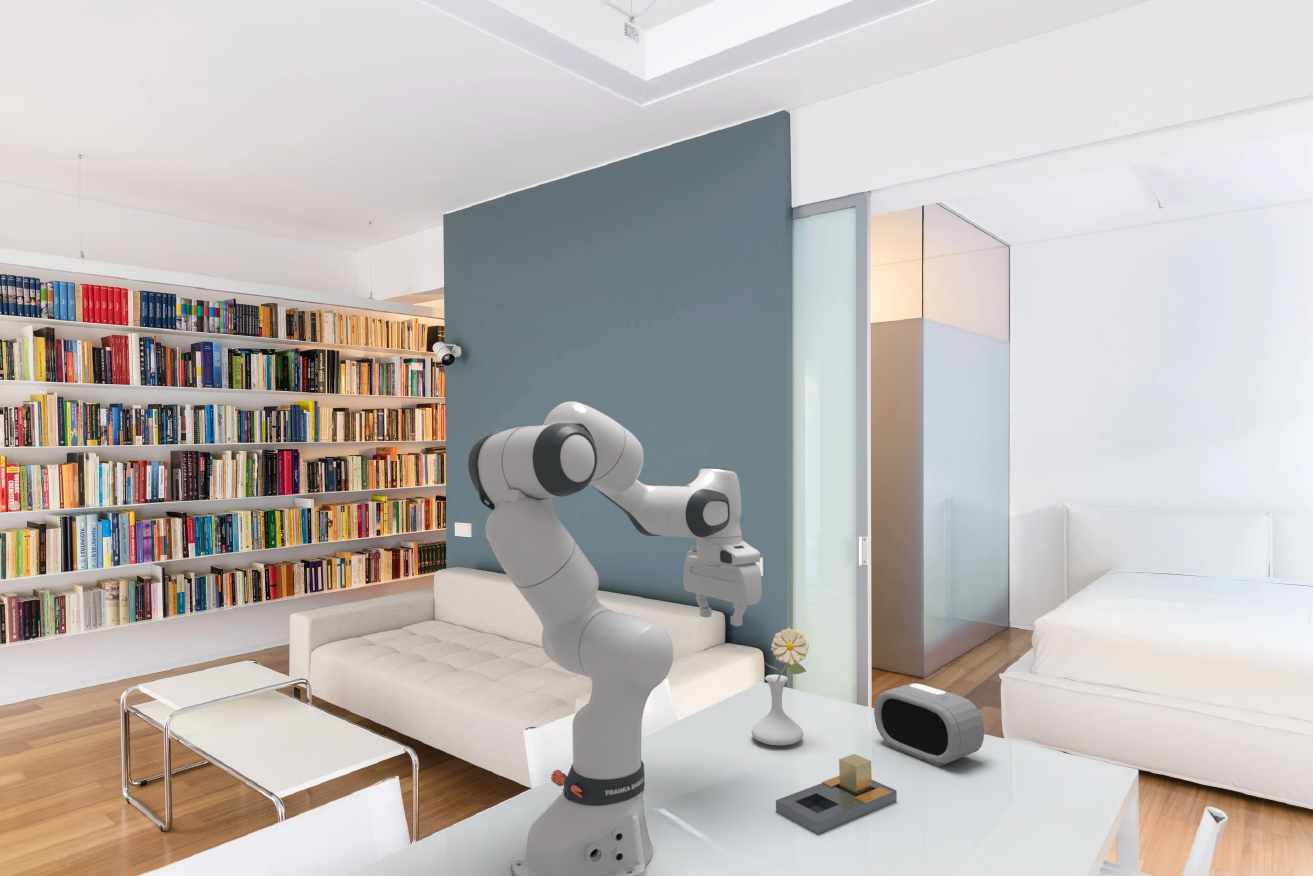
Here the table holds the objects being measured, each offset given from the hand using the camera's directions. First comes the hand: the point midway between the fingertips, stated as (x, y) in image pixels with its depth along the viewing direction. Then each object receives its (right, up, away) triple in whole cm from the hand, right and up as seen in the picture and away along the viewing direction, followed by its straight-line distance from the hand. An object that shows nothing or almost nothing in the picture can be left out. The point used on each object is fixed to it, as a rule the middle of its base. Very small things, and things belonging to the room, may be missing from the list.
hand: (720, 621), depth 151 cm
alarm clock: (+44, -31, +12) cm, 55 cm away
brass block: (+24, -30, -11) cm, 39 cm away
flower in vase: (+15, -31, +19) cm, 40 cm away
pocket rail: (+19, -31, -14) cm, 39 cm away
